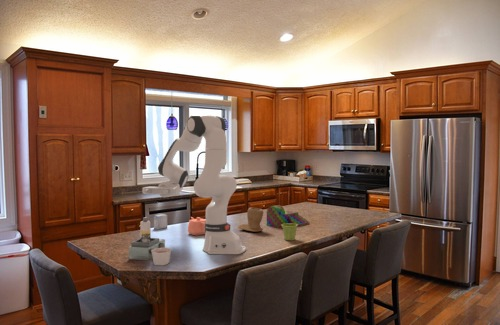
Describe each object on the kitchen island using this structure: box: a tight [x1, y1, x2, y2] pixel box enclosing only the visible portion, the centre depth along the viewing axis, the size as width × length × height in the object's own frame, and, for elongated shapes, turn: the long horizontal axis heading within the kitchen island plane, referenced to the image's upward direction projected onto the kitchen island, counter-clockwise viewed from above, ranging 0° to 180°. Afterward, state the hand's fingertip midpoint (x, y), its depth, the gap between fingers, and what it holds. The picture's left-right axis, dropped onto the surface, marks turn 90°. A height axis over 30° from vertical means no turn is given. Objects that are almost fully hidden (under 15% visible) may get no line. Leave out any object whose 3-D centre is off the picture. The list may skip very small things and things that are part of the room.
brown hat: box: [237, 207, 264, 233], centre depth 255 cm, size 15×12×15 cm
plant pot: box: [281, 223, 299, 242], centre depth 230 cm, size 9×9×9 cm
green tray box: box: [128, 237, 166, 261], centre depth 199 cm, size 11×18×8 cm, turn 166°
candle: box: [151, 247, 172, 266], centre depth 184 cm, size 9×9×6 cm
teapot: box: [187, 216, 206, 237], centre depth 247 cm, size 12×18×10 cm, turn 34°
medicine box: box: [153, 213, 168, 230], centre depth 265 cm, size 8×4×9 cm, turn 141°
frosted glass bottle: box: [139, 216, 152, 243], centre depth 197 cm, size 5×5×13 cm
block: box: [266, 204, 310, 229], centre depth 273 cm, size 25×17×14 cm
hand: (154, 192), depth 213 cm, fingers open, 8 cm apart
